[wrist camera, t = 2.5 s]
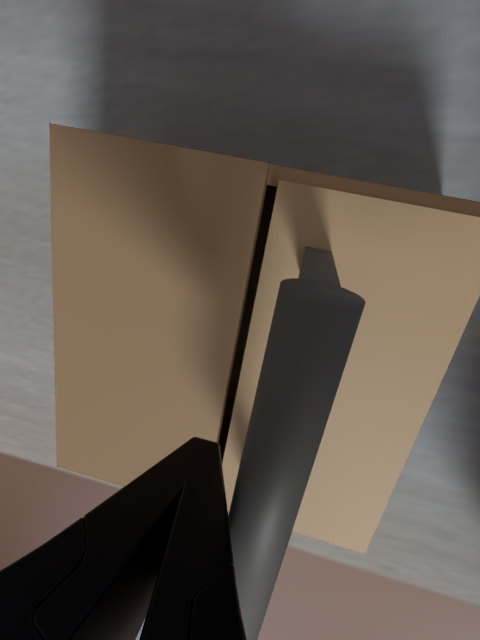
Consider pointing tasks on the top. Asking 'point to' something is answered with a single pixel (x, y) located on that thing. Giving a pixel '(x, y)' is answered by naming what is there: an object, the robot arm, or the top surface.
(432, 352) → the carton flap
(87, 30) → the top surface
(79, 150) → the kraft carton
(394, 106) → the top surface
